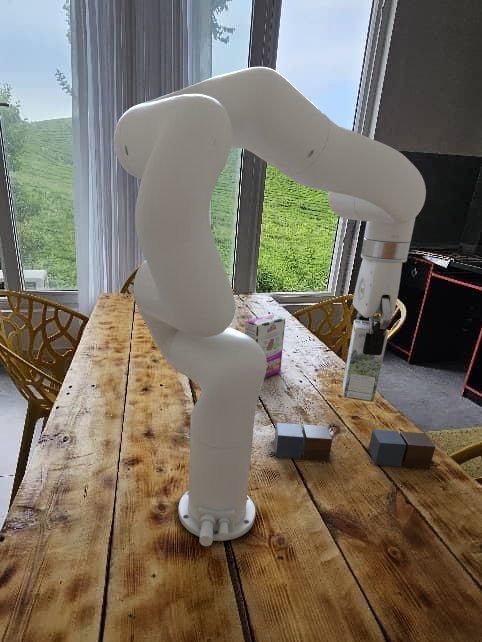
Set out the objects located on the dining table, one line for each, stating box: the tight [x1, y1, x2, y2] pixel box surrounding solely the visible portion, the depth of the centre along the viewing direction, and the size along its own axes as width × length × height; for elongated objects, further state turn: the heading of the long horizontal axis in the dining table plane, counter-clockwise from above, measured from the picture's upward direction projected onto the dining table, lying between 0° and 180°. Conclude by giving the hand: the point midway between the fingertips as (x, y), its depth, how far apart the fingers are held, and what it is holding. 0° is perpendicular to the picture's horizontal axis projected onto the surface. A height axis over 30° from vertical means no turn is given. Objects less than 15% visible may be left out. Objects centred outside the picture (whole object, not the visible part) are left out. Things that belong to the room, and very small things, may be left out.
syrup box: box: [342, 319, 389, 403], centre depth 84 cm, size 6×6×14 cm
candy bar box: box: [244, 314, 286, 379], centre depth 123 cm, size 11×5×16 cm, turn 129°
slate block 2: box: [367, 429, 406, 467], centre depth 89 cm, size 5×5×5 cm
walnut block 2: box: [399, 431, 436, 469], centre depth 88 cm, size 5×5×5 cm
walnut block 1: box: [301, 424, 333, 462], centre depth 89 cm, size 5×5×5 cm
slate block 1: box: [273, 422, 304, 459], centre depth 90 cm, size 5×5×5 cm
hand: (366, 346), depth 83 cm, fingers closed on syrup box, 6 cm apart
